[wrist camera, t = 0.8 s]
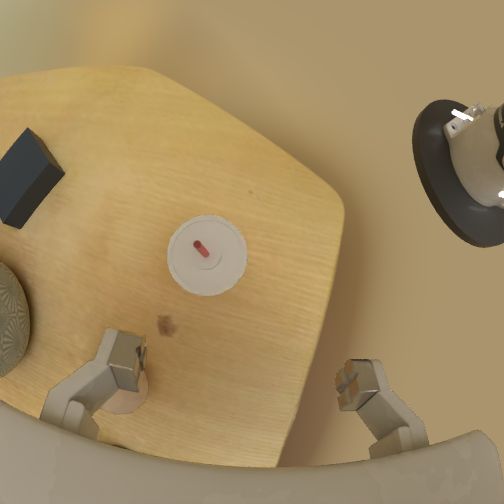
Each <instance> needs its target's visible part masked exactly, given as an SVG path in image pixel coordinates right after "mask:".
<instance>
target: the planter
mask: <svg viewBox="0 0 504 504" xmlns="http://www.w3.org/2000/svg"><path fill="white" fill-rule="evenodd" d="M29 334H30V315H29V309H28V304H27V300H26V297H25V294H24V291H23V289H22V286H21V284H20V283H19V281H18V279H17V277H16V276H15V275H14V273H13V272H12V271H11V270H10V269H9V268H8V267H7V266H6V265H5V264H4V263H3V262H1V261H0V378H1V377H3V376H5V375H6V374H8V373H9V372H11V371H12V370H13V369H14V368H15V367H16V366H17V365H18V363H19V362H20V361H21V359H22V357H23V356H24V354H25V351H26V349H27V345H28V340H29Z"/></svg>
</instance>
